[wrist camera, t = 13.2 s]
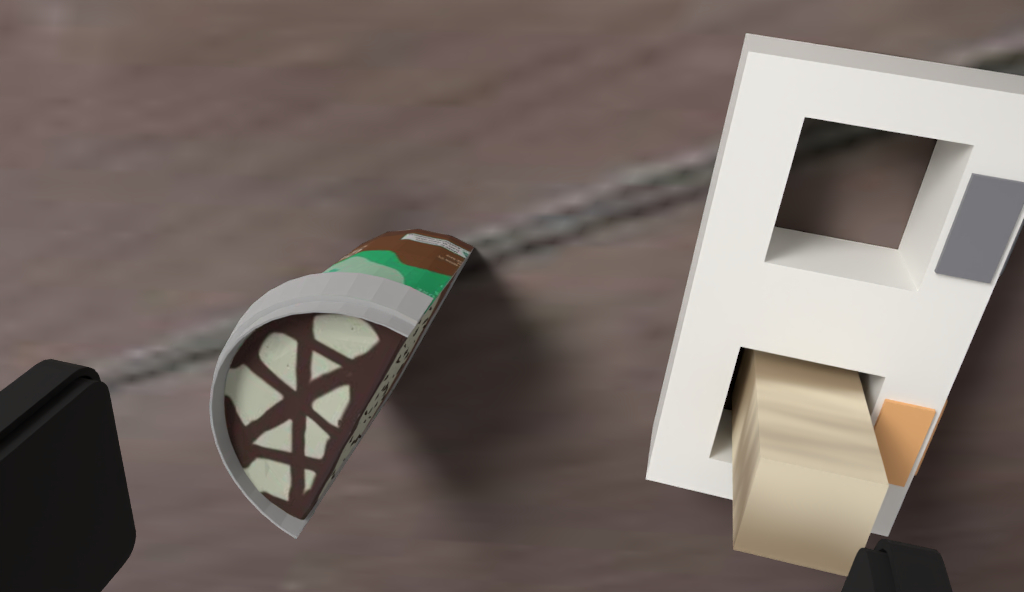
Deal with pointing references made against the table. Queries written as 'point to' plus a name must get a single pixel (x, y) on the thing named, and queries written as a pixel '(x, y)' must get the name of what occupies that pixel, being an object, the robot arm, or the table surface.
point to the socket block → (843, 254)
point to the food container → (324, 367)
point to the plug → (803, 462)
